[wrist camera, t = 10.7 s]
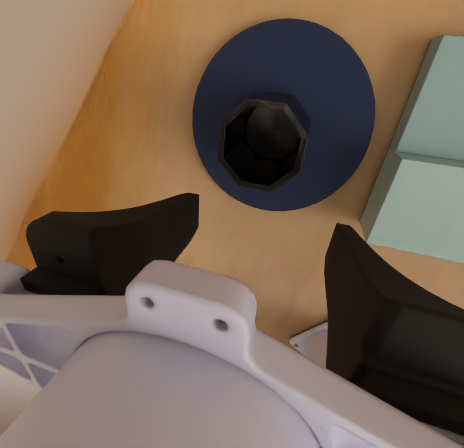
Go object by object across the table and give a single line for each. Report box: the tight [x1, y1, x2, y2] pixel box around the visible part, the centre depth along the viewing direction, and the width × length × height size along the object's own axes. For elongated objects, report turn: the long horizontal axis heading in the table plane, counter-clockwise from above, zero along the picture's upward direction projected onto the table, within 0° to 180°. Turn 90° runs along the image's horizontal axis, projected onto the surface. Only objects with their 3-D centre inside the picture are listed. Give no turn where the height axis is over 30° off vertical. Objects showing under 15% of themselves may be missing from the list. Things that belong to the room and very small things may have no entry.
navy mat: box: [193, 19, 375, 211], centre depth 20 cm, size 14×14×1 cm
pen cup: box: [217, 92, 311, 192], centre depth 18 cm, size 5×5×6 cm
